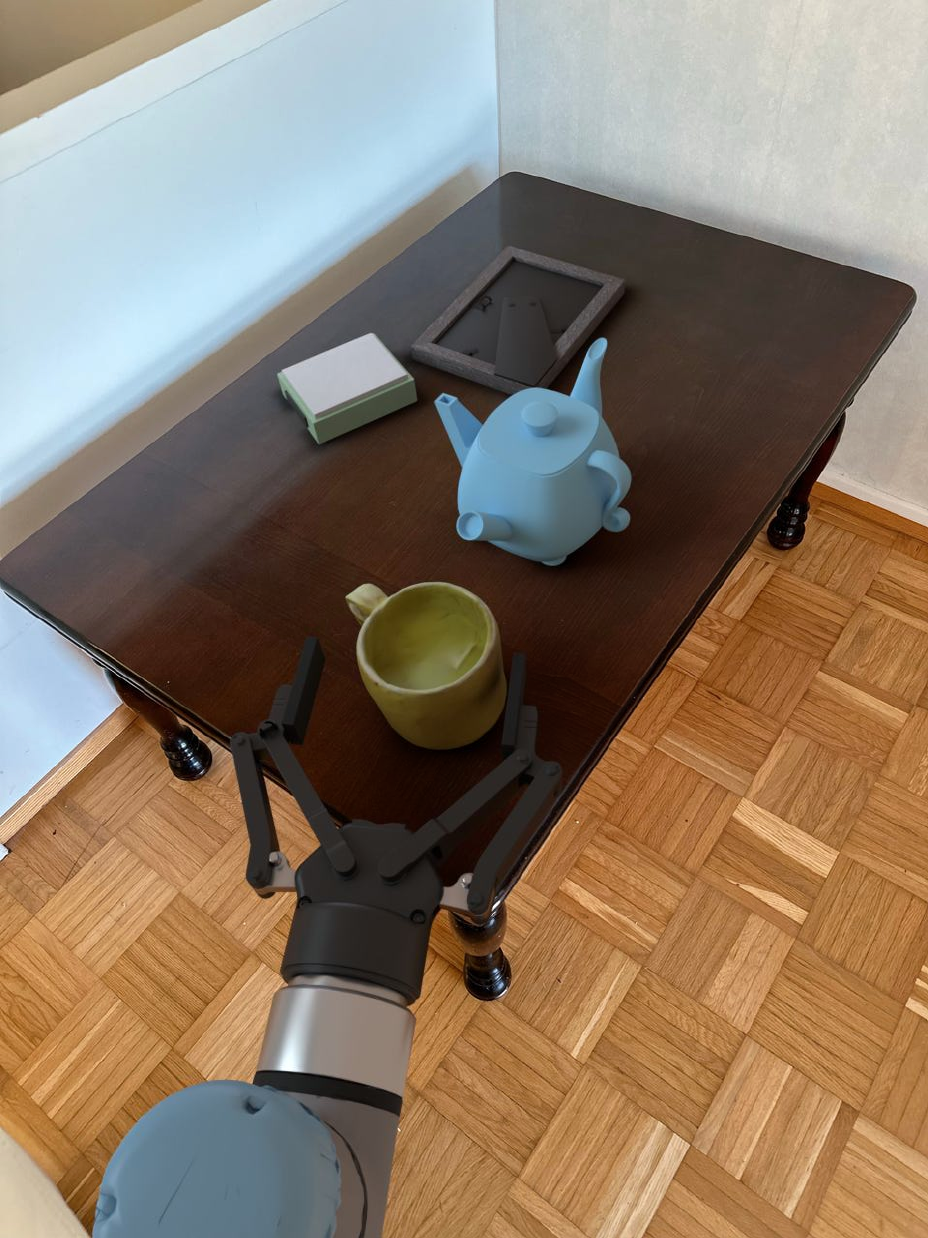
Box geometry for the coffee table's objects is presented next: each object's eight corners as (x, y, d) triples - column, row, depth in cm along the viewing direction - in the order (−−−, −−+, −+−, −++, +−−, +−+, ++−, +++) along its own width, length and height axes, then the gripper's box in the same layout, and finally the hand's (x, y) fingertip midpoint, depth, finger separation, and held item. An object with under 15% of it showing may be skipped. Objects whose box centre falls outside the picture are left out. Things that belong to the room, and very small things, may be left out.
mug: (563, 694, 62) (504, 619, 54) (450, 795, 61) (376, 733, 54) (471, 598, 70) (409, 522, 62) (371, 687, 69) (297, 621, 62)
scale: (317, 445, 80) (310, 420, 78) (281, 395, 84) (273, 370, 82) (417, 400, 83) (413, 374, 80) (377, 354, 87) (373, 328, 84)
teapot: (441, 464, 78) (427, 357, 68) (598, 440, 78) (606, 330, 69) (467, 606, 69) (455, 505, 60) (644, 578, 69) (659, 473, 60)
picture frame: (534, 403, 81) (624, 293, 90) (534, 385, 80) (625, 275, 88) (412, 359, 86) (508, 258, 94) (409, 342, 84) (507, 241, 93)
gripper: (149, 983, 52) (249, 671, 64) (585, 1043, 49) (605, 701, 61) (96, 946, 46) (218, 609, 58) (591, 1011, 43) (612, 638, 55)
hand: (416, 655), depth 59 cm, fingers open, 13 cm apart
